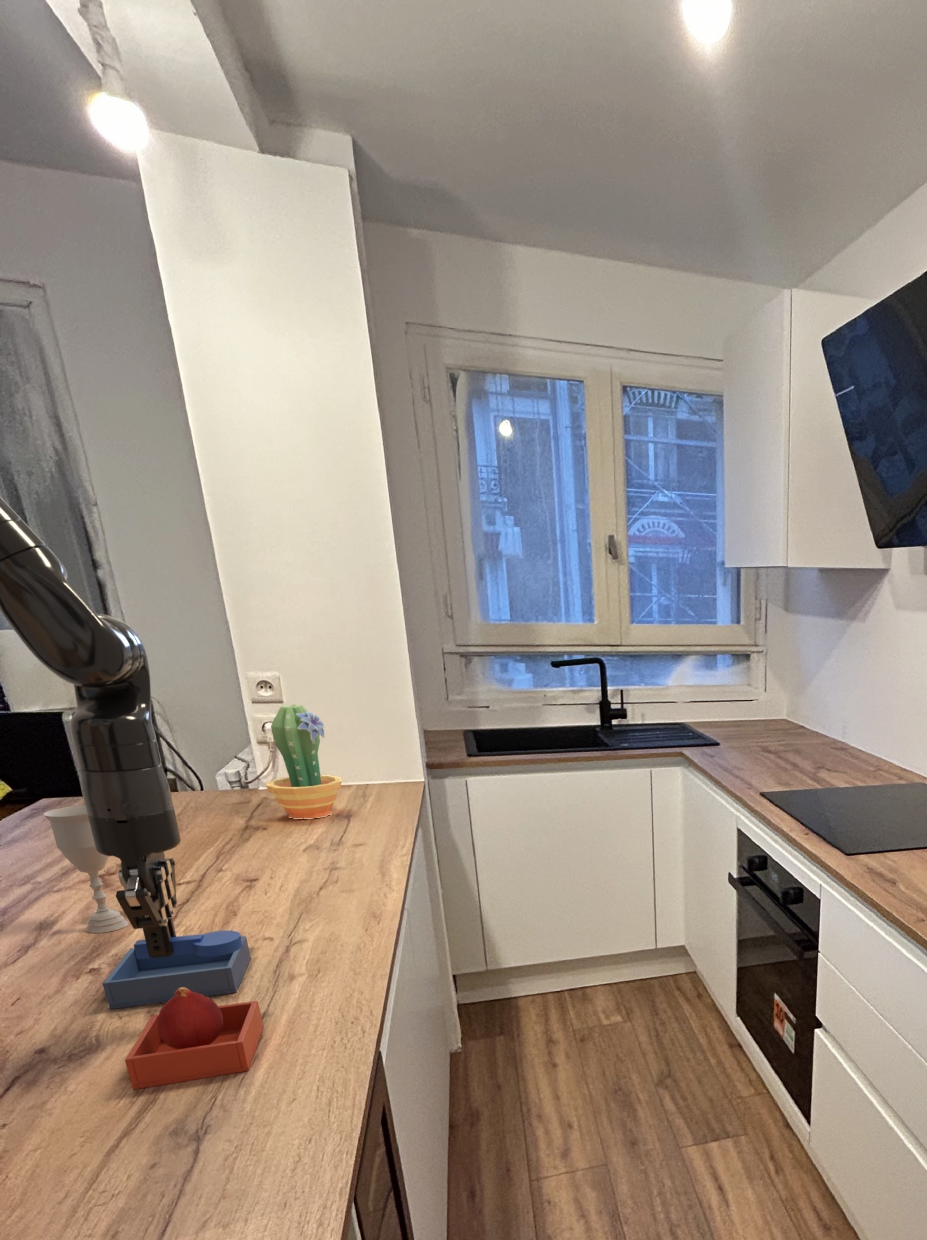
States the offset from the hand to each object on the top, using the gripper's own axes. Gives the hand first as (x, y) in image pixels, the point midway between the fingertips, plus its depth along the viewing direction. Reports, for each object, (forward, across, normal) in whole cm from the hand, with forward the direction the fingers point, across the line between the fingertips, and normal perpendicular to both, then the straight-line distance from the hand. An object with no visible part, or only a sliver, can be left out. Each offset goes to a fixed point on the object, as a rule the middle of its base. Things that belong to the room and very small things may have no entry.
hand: (164, 952), depth 94 cm
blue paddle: (0, 0, +2) cm, 2 cm away
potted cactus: (+9, -103, +4) cm, 103 cm away
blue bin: (+9, -11, -2) cm, 14 cm away
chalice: (+9, -37, -17) cm, 42 cm away
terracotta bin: (+9, +11, +4) cm, 15 cm away
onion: (+8, +11, +4) cm, 14 cm away
